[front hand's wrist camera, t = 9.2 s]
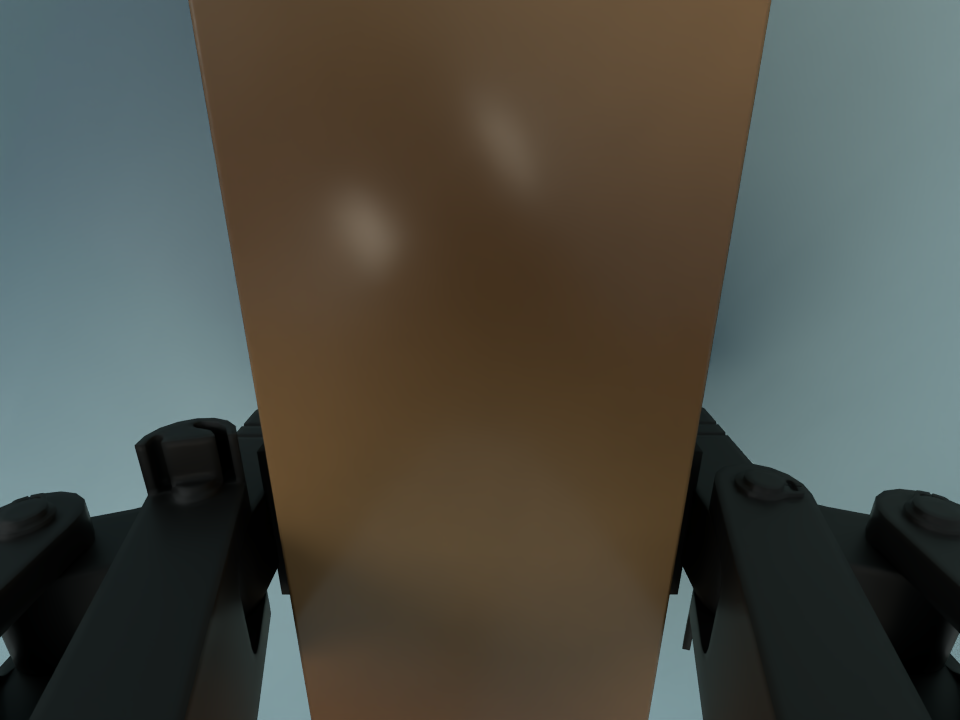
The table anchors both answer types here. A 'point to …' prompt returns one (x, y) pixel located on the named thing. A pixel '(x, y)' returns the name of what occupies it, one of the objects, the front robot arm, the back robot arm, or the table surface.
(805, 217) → the table surface
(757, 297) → the table surface
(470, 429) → the post
